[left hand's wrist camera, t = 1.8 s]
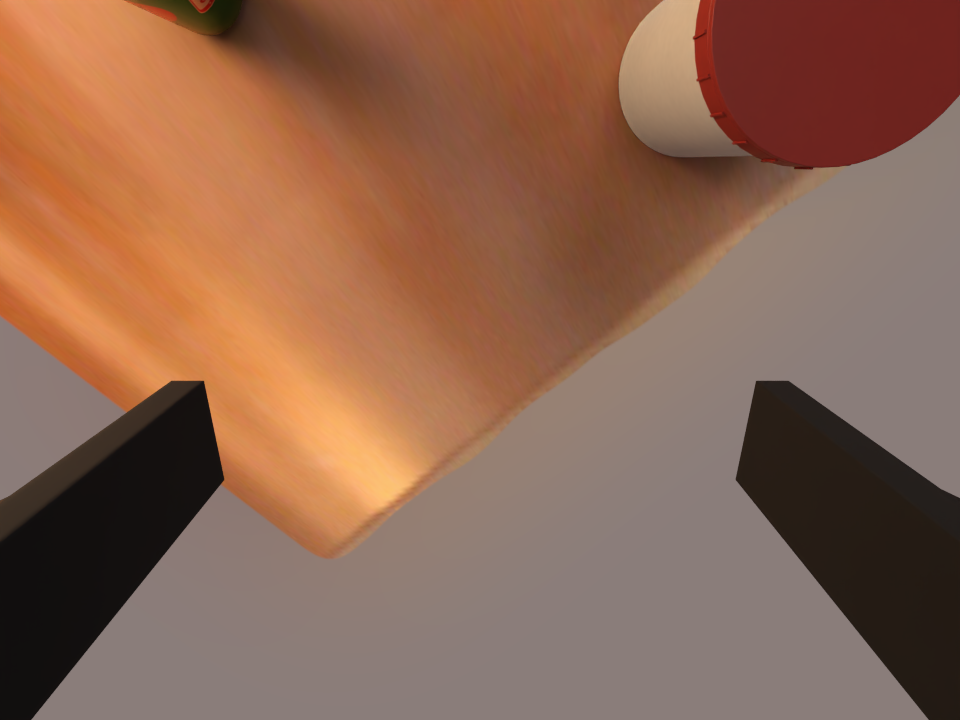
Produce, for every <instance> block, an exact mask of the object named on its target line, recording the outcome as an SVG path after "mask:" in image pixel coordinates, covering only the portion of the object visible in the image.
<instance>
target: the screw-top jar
mask: <svg viewBox="0 0 960 720" xmlns="http://www.w3.org/2000/svg"><path fill="white" fill-rule="evenodd" d="M699 3H700V0H663V1H662V2H661V3H660V4H659V5H658V6H656V7H655V8H654V9H653V10H652V11H651V12H650V13H649V14H648V15H647V16H646V17H645V18H644V19H643V20H642V22H641V23H640V24H639V26H638V27H637V28H636V30H635V31H634V33H633V35H632V37H631V38H630V40H629V42H628V45H627V47H626V50H625V52H624V55H623V59H622V62H621V67H620V73H619V98H620V103H621V108H622V111H623V114H624V117H625V119H626V121H627V123H628V125H629V127H630V128H631V130H632V131H633V133H634V134H635V135H636V136H637V137H638V138H639V139H640V141H642V142H643V143H644V144H645V145H647V146H648V147H649V148H651V149H653V150H655V151H657V152H659V153H661V154H664V155H668V156H672V157H723V156H753V155H751V154H749V153H748V152H746V151H745V150H743V149H741V148H740V147H739V146H738V145H733V144H732V142H733V141H732V140H731V139H729V138H728V137H727V135H726V134H725V133H724V132H723V131H722V129H721V128H720V127H719V126H718V124H717V123H716V121H715V120H714V118H713V117H710V115H711V113H710V111H709V109H708V107H707V105H706V102H705V100H704V98H703V95H702V92H701V88H700V85H699V81H698V82H697V81H696V79H698V77H697V70H696V63H695V42H694V40H693V36H695V28H696V18H697V13H698V8H699Z"/></svg>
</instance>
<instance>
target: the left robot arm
mask: <svg viewBox="0 0 960 720" xmlns="http://www.w3.org/2000/svg"><path fill="white" fill-rule="evenodd" d="M223 481H224V476H223V471H222V466H221V461H220V456H219V452H218V447H217V442H216V437H215V432H214V427H213V423H212V418H211V413H210V408H209V403H208V399H207V394H206V389H205V384H204V381H171V382H169V383H168V384H167V385H165V386H164V387H162V388H161V389H159V390H158V391H157V392H155V393H154V394H152V395H151V396H150V397H148V398H147V399H145V400H144V401H143V402H141V403H140V404H138V405H137V406H136V407H134V408H133V409H131V410H130V411H129V412H127V413H126V414H124V415H123V416H121V417H120V418H119V419H117V420H116V421H114V422H113V423H112V424H110V425H109V426H107V427H106V428H105V429H103V430H102V431H100V432H99V433H98V434H96V435H95V436H93V437H92V438H90V439H89V440H88V441H86V442H85V443H84V444H82V445H81V446H79V447H78V448H76V449H75V450H74V451H72V452H71V453H69V454H68V455H67V456H65V457H64V458H62V459H61V460H60V461H58V462H57V463H55V464H54V465H52V466H51V467H50V468H48V469H47V470H45V471H44V472H43V473H41V474H40V475H38V476H37V477H36V478H34V479H33V480H31V481H30V482H29V483H27V484H26V485H24V486H23V487H22V488H20V489H19V490H17V491H16V492H15V493H13V494H12V495H10V496H8V497H6V498H4V499H2V500H0V720H31V719H32V718H33V717H34V716H35V714H36V713H37V712H38V711H39V709H40V708H41V707H42V706H43V704H44V703H45V702H46V701H47V699H48V698H49V697H50V696H51V694H52V693H53V692H54V691H55V689H56V688H57V687H58V686H59V684H60V683H61V682H62V681H63V680H64V678H65V677H66V676H67V675H68V673H69V672H70V671H71V670H72V668H73V667H74V666H75V665H76V663H77V662H78V661H79V660H80V658H81V657H82V656H83V655H84V653H85V652H86V651H87V650H88V648H89V647H90V646H91V645H92V643H93V642H94V641H95V640H96V639H97V637H98V636H99V635H100V634H101V632H102V631H103V630H104V629H105V627H106V626H107V625H108V624H109V622H110V621H111V620H112V619H113V617H114V616H115V615H116V614H117V612H118V611H119V610H120V609H121V607H122V606H123V605H124V604H125V603H126V601H127V600H128V599H129V598H130V596H131V595H132V594H133V593H134V591H135V590H136V589H137V588H138V586H139V585H140V584H141V583H142V581H143V580H144V579H145V578H146V576H147V575H148V574H149V573H150V571H151V570H152V569H153V568H154V566H155V565H156V564H157V563H158V561H159V560H160V559H161V558H162V557H163V555H164V554H165V553H166V552H167V550H168V549H169V548H170V547H171V545H172V544H173V543H174V542H175V540H176V539H177V538H178V537H179V535H180V534H181V533H182V532H183V530H184V529H185V528H186V527H187V525H188V524H189V523H190V522H191V520H192V519H193V518H194V517H195V515H196V514H197V513H198V512H199V511H200V509H201V508H202V507H203V505H204V504H205V503H206V502H207V501H208V499H209V498H210V497H211V496H212V494H213V493H214V492H215V491H216V489H217V488H218V487H219V486H220V484H221V483H222V482H223ZM736 481H737V482H738V483H739V484H740V486H741V487H742V488H743V489H744V491H745V492H746V493H747V494H748V496H749V497H750V498H751V499H752V501H753V502H754V503H755V504H756V506H757V507H758V508H759V509H760V510H761V512H762V513H763V514H764V515H765V517H766V518H767V519H768V520H769V522H770V523H771V524H772V525H773V527H774V528H775V529H776V530H777V532H778V533H779V534H780V535H781V537H782V538H783V539H784V540H785V542H786V543H787V544H788V545H789V547H790V548H791V549H792V550H793V552H794V553H795V554H796V555H797V557H798V558H799V559H800V560H801V561H802V563H803V564H804V565H805V566H806V568H807V569H808V570H809V571H810V573H811V574H812V575H813V576H814V578H815V579H816V580H817V581H818V583H819V584H820V585H821V586H822V588H823V589H824V590H825V591H826V593H827V594H828V595H829V596H830V598H831V599H832V600H833V601H834V602H835V604H836V605H837V606H838V607H839V609H840V610H841V611H842V612H843V614H844V615H845V616H846V617H847V619H848V620H849V621H850V622H851V624H852V625H853V626H854V627H855V629H856V630H857V631H858V632H859V634H860V635H861V636H862V637H863V639H864V640H865V641H866V642H867V644H868V645H869V646H870V647H871V648H872V650H873V651H874V652H875V653H876V655H877V656H878V657H879V658H880V660H881V661H882V662H883V663H884V665H885V666H886V667H887V668H888V670H889V671H890V672H891V673H892V675H893V676H894V677H895V678H896V680H897V681H898V682H899V683H900V685H901V686H902V687H903V688H904V689H905V691H906V692H907V693H908V694H909V696H910V697H911V698H912V699H913V701H914V702H915V703H916V704H917V706H918V707H919V708H920V709H921V711H922V712H923V713H924V714H925V716H926V717H927V718H928V719H929V720H960V498H958V497H956V496H954V495H952V494H950V493H948V492H946V491H944V490H941V489H940V488H938V487H937V486H936V485H934V484H933V483H931V482H930V481H929V480H927V479H926V478H924V477H923V476H922V475H920V474H919V473H917V472H916V471H915V470H913V469H912V468H910V467H909V466H907V465H906V464H905V463H903V462H902V461H900V460H899V459H898V458H896V457H895V456H893V455H892V454H891V453H889V452H888V451H886V450H885V449H884V448H882V447H881V446H879V445H878V444H877V443H875V442H874V441H872V440H871V439H870V438H868V437H867V436H865V435H864V434H862V433H861V432H860V431H858V430H857V429H855V428H854V427H853V426H851V425H850V424H848V423H847V422H846V421H844V420H843V419H841V418H840V417H838V416H837V415H836V414H834V413H833V412H831V411H830V410H829V409H827V408H826V407H824V406H823V405H822V404H820V403H819V402H817V401H816V400H815V399H813V398H812V397H810V396H809V395H808V394H806V393H805V392H803V391H802V390H801V389H799V388H798V387H796V386H795V385H793V384H792V383H791V382H789V381H756V384H755V389H754V394H753V399H752V404H751V408H750V413H749V418H748V423H747V428H746V432H745V437H744V442H743V447H742V452H741V457H740V461H739V466H738V471H737V476H736Z"/></svg>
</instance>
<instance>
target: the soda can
mask: <svg viewBox="0 0 960 720" xmlns="http://www.w3.org/2000/svg"><path fill="white" fill-rule="evenodd" d="M124 1H126V2H128V3H131V4H133V5H135V6H137V7H139V8H142V9H144V10H146V11H148V12H150V13H153V14H155V15H157V16H159V17H161V18H164V19H166V20H168V21H170V22H173V23H175V24H177V25H179V26H181V27H184V28H186V29H188V30H190V31H192V32H195V33H198V34H202V35H216V34H219V33H222V32H224V31H226V30H227V29H228V28H230V27H231V26H232V25H233V23H234V22H235V21H236V19H237V17H238V15H239V13H240V10H241V5H242V0H124Z"/></svg>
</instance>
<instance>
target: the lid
mask: <svg viewBox="0 0 960 720" xmlns="http://www.w3.org/2000/svg"><path fill="white" fill-rule="evenodd" d="M693 40H694V42H695V63H696V70H697V77H698V79H696V81H697V82H698V81H699V85H700V88H701V92H702V95H703V98H704V100H705V102H706V105H707V107H708V109H709V111H710V113H711V115H710V117H713V118H714V120H715V121H716V123H717V124H718V126H719V127H720V128H721V129H722V131H723V132H724V133H725V134H726V135H727V137H728V138H729V139H731V140H732V141H733V142H732V144H733V145H738V146H739V147H740V148H741V149H743V150H745V151H746V152H748V153H749V154H751V155H753V156H755V157H757V158H759V159H762V160H761V162H770V163H774V164H778V165H782V166H791V167H795V168H794V169H813V167H818V168H822V167H840V166H849V165H851V164H856V163H860V162H863V161H866V160H869V159H872V158H875V157H877V156H880V155H882V154H884V153H887V152H889V151H891V150H893V149H895V148H896V147H898V146H900V145H902V144H903V143H905V142H907V141H909V140H910V139H912V138H913V137H914V136H916V135H917V134H918V133H920V132H921V131H923V130H924V129H925V128H927V127H928V126H929V125H930V124H931V123H932V122H934V121H935V120H936V119H937V118H938V117H939V116H940V115H941V114H943V113H944V112H945V110H946V109H947V108H948V107H949V106H950V105H951V104H952V103H953V102H954V101H955V100H956V99H957V97H958V96H959V95H960V0H700V3H699V8H698V13H697V18H696V28H695V36H693Z"/></svg>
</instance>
